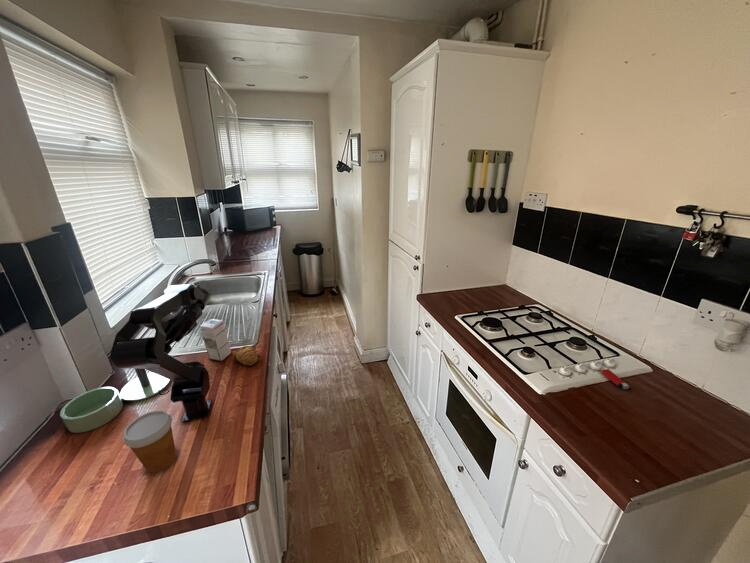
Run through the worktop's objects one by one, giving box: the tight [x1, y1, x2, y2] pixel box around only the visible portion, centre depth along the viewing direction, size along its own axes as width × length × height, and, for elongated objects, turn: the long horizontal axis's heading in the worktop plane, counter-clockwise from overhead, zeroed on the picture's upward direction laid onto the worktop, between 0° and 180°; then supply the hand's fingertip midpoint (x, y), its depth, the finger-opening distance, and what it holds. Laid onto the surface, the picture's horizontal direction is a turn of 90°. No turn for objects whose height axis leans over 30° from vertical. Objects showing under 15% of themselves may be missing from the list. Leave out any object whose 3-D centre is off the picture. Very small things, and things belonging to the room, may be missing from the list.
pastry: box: [235, 345, 259, 366], centre depth 112 cm, size 9×7×4 cm
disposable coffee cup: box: [122, 410, 177, 474], centre depth 73 cm, size 10×10×12 cm
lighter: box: [600, 368, 630, 390], centre depth 98 cm, size 3×1×8 cm
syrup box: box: [199, 318, 232, 362], centre depth 113 cm, size 6×6×14 cm
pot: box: [59, 386, 124, 434], centre depth 89 cm, size 13×13×5 cm
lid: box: [119, 368, 171, 402], centre depth 99 cm, size 14×14×9 cm
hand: (158, 351), depth 96 cm, fingers open, 9 cm apart
